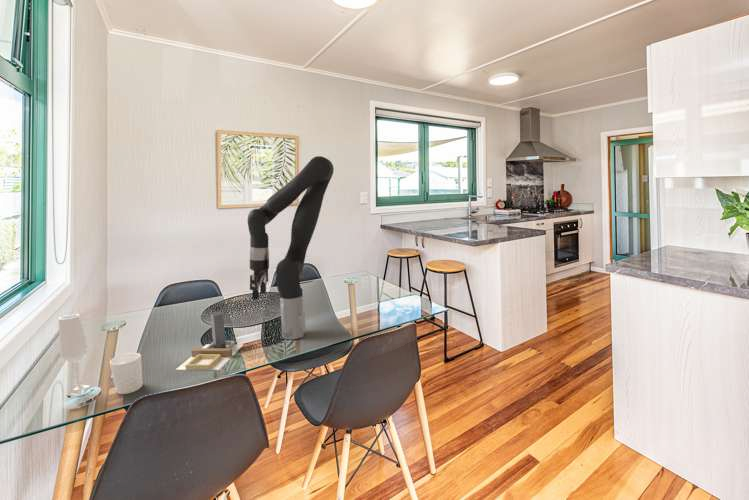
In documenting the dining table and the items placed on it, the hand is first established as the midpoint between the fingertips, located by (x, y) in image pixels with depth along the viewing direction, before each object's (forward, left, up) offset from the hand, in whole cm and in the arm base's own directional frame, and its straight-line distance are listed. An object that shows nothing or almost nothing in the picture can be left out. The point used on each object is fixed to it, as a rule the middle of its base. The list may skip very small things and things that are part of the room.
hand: (259, 296), depth 148 cm
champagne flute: (+41, +44, -17) cm, 62 cm away
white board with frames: (+11, +21, -17) cm, 29 cm away
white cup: (+27, +42, -17) cm, 53 cm away
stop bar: (+11, +15, -16) cm, 25 cm away
